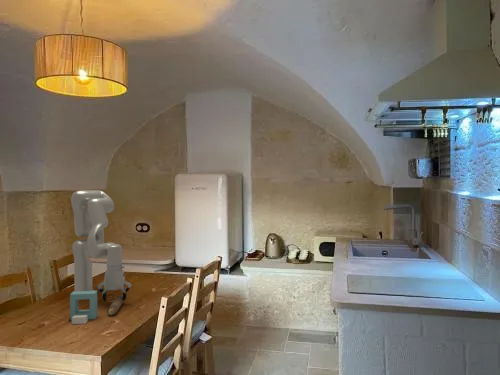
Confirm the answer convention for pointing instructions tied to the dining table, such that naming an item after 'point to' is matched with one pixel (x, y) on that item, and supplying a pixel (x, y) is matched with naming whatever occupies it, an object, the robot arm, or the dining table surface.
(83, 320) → the block
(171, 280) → the dining table surface
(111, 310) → the dowel
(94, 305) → the teal square frame
